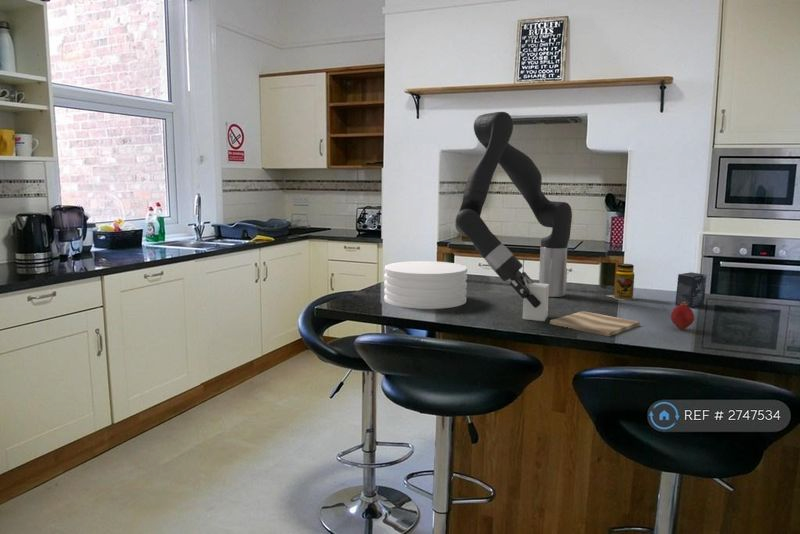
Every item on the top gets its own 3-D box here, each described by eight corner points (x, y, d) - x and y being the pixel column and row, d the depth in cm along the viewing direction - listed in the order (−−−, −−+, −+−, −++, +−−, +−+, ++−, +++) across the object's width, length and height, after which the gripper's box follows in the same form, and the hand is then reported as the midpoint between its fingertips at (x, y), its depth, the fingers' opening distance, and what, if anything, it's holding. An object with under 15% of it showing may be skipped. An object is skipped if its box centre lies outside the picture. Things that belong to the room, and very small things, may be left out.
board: (582, 314, 180) (582, 311, 180) (639, 325, 167) (639, 321, 167) (549, 323, 168) (549, 320, 167) (608, 336, 155) (609, 332, 154)
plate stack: (436, 313, 180) (437, 276, 178) (367, 301, 197) (367, 267, 195) (481, 299, 202) (482, 266, 200) (415, 289, 219) (416, 258, 217)
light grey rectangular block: (526, 314, 179) (527, 282, 177) (547, 316, 176) (549, 284, 175) (522, 319, 173) (523, 285, 171) (544, 321, 170) (546, 287, 169)
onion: (665, 327, 165) (667, 299, 164) (685, 326, 165) (687, 299, 164) (677, 332, 159) (679, 304, 158) (697, 332, 160) (699, 303, 158)
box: (691, 308, 189) (694, 276, 188) (674, 305, 194) (677, 273, 192) (704, 305, 194) (707, 274, 192) (688, 302, 198) (690, 271, 197)
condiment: (622, 300, 200) (625, 266, 198) (605, 296, 208) (607, 262, 206) (639, 299, 203) (641, 265, 201) (621, 294, 211) (623, 261, 209)
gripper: (507, 257, 168) (546, 299, 165) (517, 251, 181) (553, 291, 179) (488, 274, 171) (527, 316, 168) (499, 267, 184) (535, 306, 181)
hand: (540, 303), depth 173 cm, fingers open, 7 cm apart
